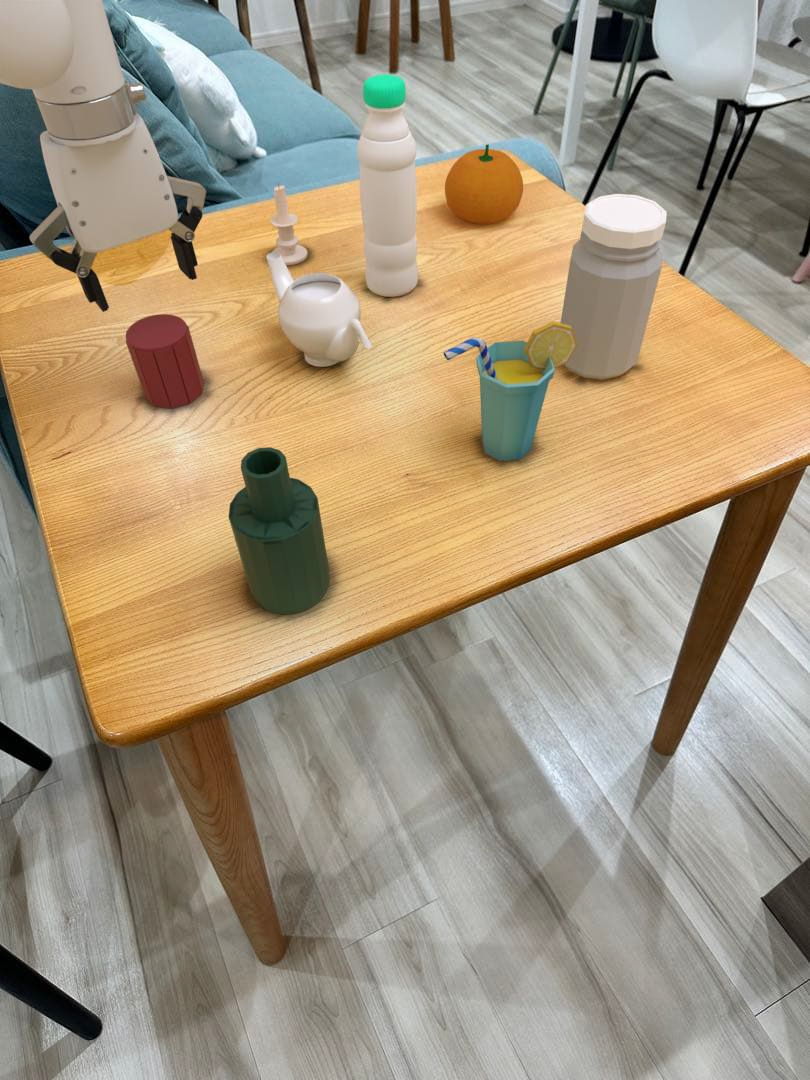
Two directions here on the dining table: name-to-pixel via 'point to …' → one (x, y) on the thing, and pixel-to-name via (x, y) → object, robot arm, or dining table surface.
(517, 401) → the cup
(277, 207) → the candle
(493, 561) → the dining table surface
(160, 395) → the grooved red cylinder
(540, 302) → the dining table surface
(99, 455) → the dining table surface
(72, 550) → the dining table surface
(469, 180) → the fruit
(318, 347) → the teapot
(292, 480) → the green bottle
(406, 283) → the water bottle
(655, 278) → the jar
